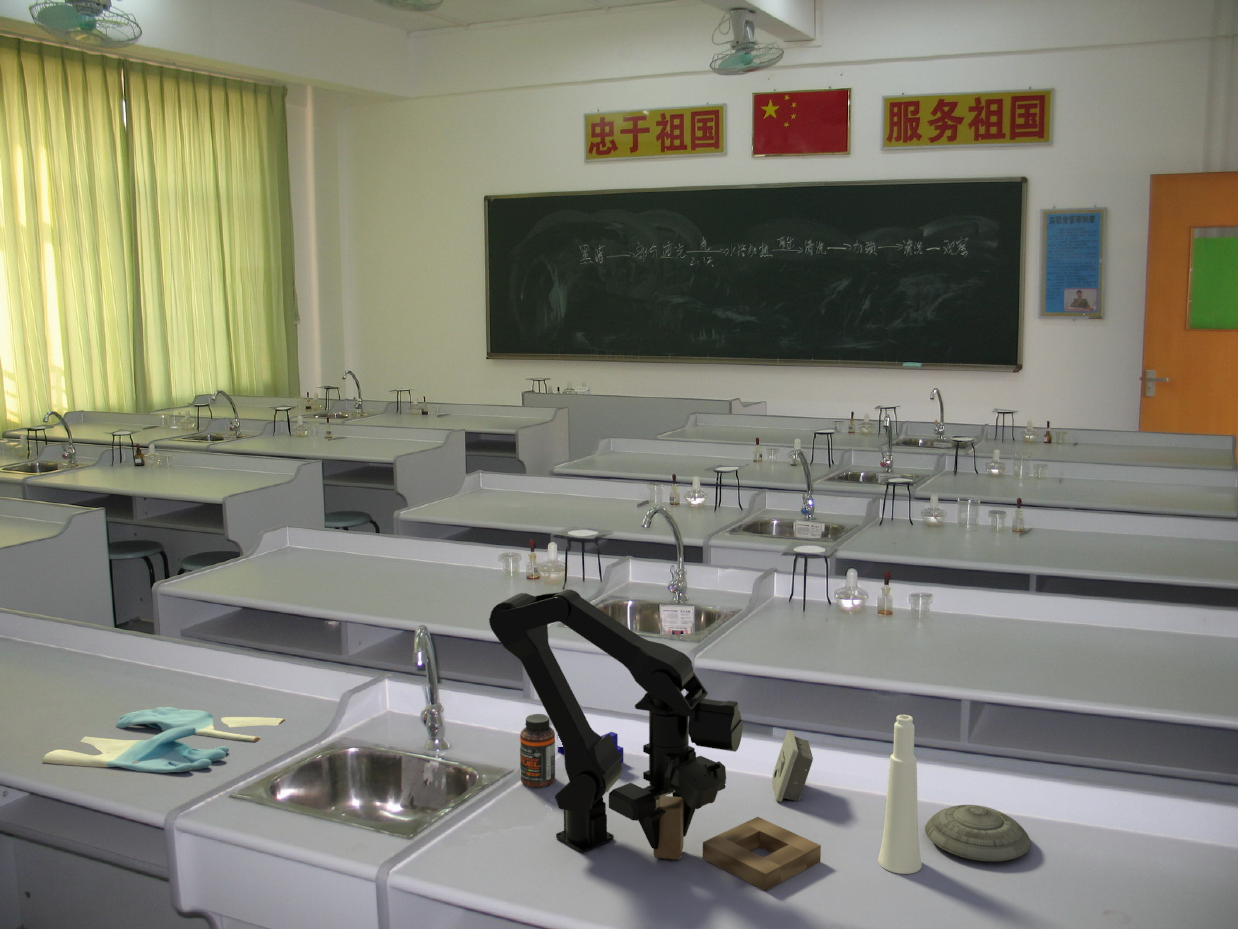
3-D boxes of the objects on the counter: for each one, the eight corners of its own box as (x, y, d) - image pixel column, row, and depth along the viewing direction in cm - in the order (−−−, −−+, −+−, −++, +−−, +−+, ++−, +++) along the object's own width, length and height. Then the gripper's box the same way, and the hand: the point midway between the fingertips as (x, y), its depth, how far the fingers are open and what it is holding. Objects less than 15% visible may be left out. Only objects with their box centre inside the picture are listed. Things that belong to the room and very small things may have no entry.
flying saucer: (913, 820, 167) (914, 787, 166) (1010, 821, 166) (1011, 787, 166) (940, 869, 152) (941, 833, 151) (1046, 870, 151) (1048, 834, 151)
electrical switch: (771, 779, 181) (777, 727, 180) (802, 782, 181) (808, 731, 180) (775, 804, 172) (782, 749, 171) (807, 808, 172) (814, 753, 170)
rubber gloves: (140, 711, 216) (137, 680, 215) (286, 722, 210) (285, 691, 209) (41, 766, 190) (38, 731, 189) (206, 781, 183) (203, 745, 182)
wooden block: (680, 861, 153) (680, 808, 152) (653, 858, 154) (653, 806, 153) (683, 847, 157) (684, 796, 156) (656, 845, 158) (657, 794, 157)
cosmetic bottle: (896, 878, 149) (901, 728, 146) (869, 858, 154) (873, 713, 151) (930, 869, 151) (936, 721, 148) (903, 850, 157) (908, 707, 154)
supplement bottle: (514, 786, 179) (513, 721, 178) (529, 772, 185) (528, 709, 183) (546, 791, 177) (545, 726, 175) (561, 776, 183) (560, 713, 181)
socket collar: (702, 858, 155) (702, 842, 154) (757, 832, 162) (757, 816, 162) (765, 891, 146) (765, 874, 145) (820, 861, 153) (820, 845, 153)
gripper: (660, 776, 141) (660, 886, 143) (754, 739, 153) (752, 841, 155) (605, 751, 149) (606, 855, 151) (698, 718, 162) (698, 815, 164)
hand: (668, 842), depth 155 cm, fingers closed on wooden block, 5 cm apart
